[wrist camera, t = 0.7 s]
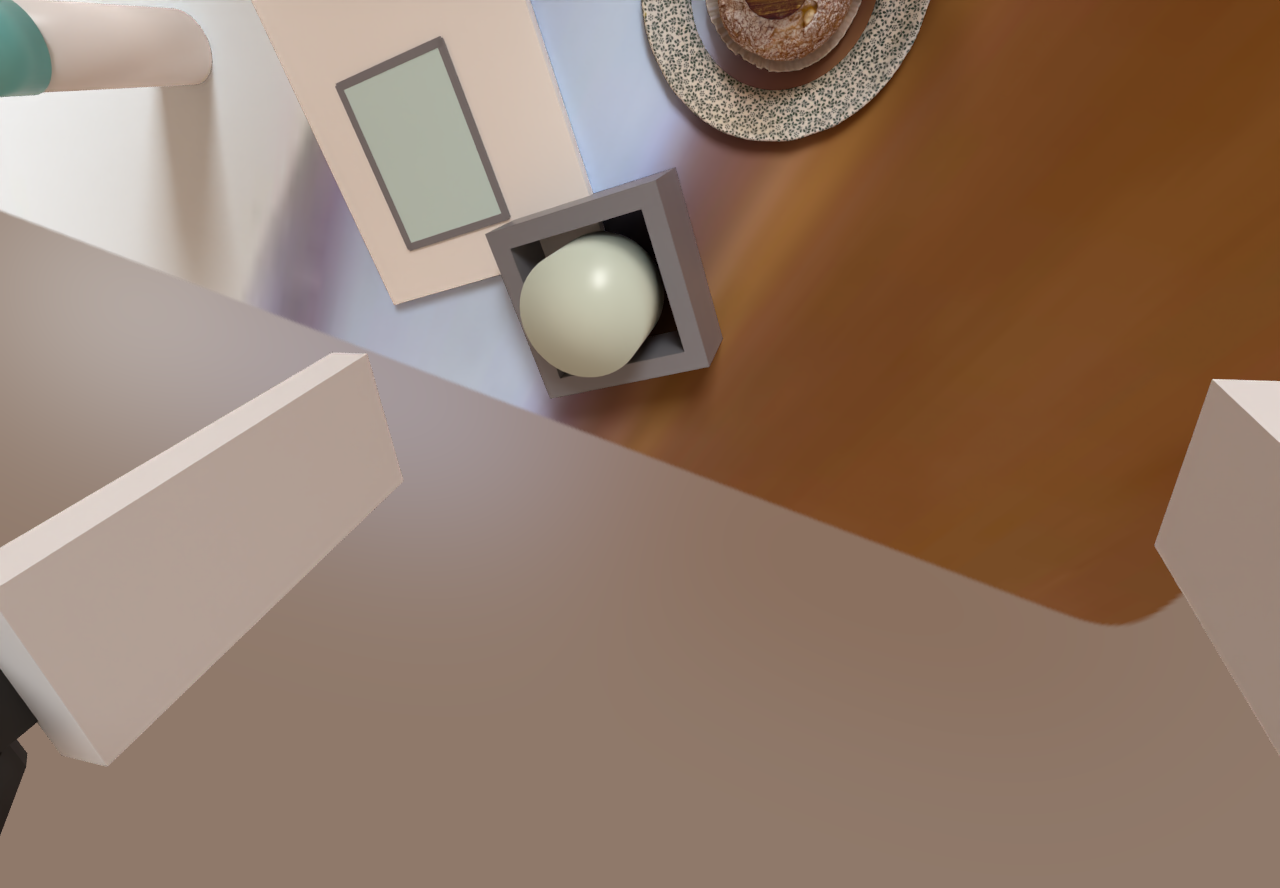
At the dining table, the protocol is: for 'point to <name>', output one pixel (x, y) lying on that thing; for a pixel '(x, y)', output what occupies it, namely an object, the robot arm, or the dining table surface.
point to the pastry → (780, 60)
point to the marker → (97, 47)
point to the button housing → (675, 258)
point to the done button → (592, 303)
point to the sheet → (432, 126)
